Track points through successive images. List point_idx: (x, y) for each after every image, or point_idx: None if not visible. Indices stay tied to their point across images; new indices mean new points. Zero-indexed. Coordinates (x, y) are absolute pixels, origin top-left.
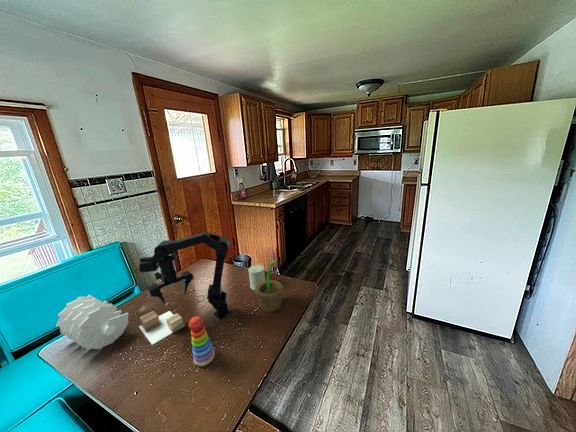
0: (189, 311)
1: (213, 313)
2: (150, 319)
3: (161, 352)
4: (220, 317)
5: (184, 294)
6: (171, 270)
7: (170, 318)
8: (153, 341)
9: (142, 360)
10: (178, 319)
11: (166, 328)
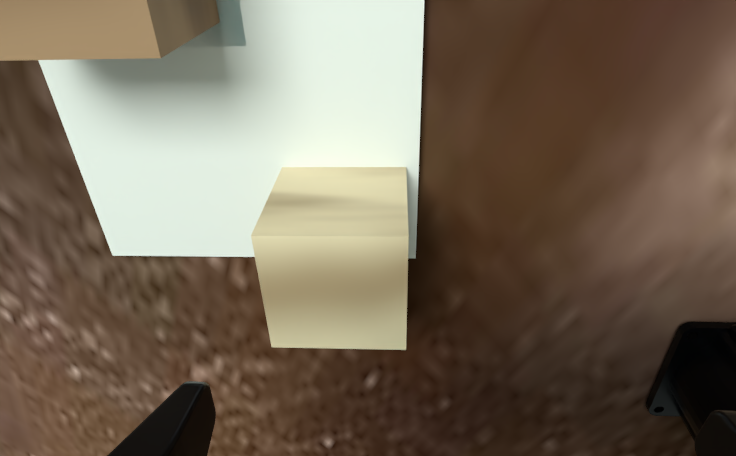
0: (603, 60)
1: (687, 330)
2: (38, 55)
3: (176, 356)
4: (664, 405)
5: (695, 448)
6: None
7: (299, 269)
8: (126, 231)
9: (51, 327)
10: (364, 347)
11: (264, 158)
